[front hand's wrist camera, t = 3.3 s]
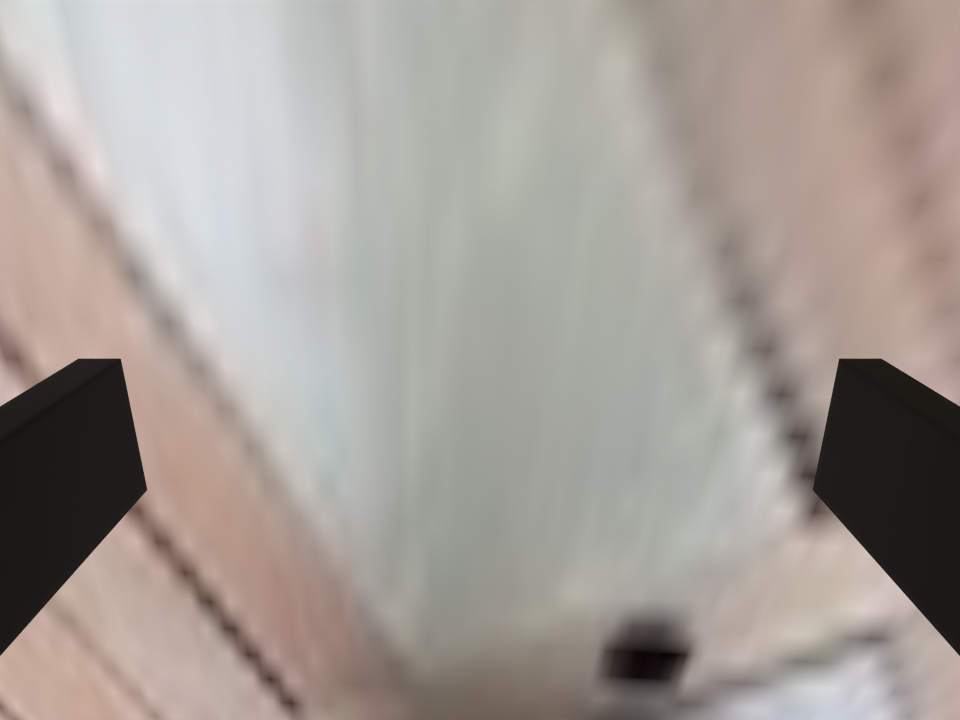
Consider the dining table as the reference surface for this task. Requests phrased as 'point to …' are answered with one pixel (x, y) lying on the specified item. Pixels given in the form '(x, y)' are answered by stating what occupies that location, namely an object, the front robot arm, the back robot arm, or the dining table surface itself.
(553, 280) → the dining table surface
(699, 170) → the dining table surface
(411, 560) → the dining table surface
